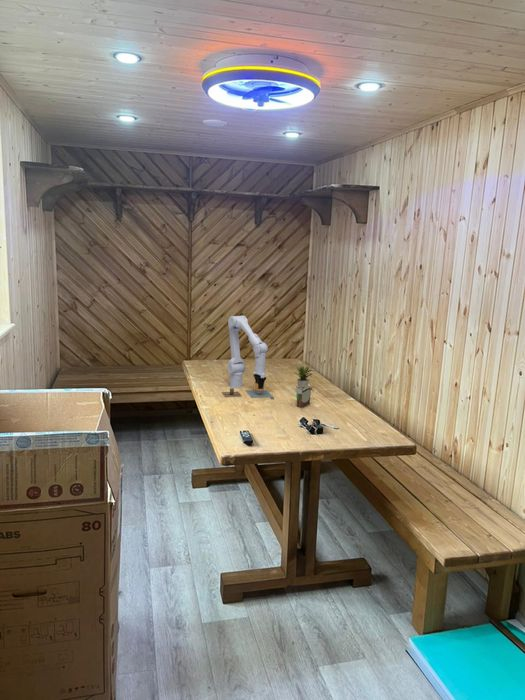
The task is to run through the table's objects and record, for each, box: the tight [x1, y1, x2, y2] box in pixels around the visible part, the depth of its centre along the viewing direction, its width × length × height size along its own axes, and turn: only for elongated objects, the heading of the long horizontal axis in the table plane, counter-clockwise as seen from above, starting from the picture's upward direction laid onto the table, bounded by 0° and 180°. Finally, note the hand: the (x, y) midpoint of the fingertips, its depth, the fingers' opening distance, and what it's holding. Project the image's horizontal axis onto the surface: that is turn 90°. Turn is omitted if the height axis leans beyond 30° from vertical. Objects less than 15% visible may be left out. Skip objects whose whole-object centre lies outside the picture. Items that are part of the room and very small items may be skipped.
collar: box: [253, 381, 265, 391], centre depth 313 cm, size 6×6×4 cm
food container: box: [294, 385, 312, 409], centre depth 295 cm, size 12×6×10 cm, turn 149°
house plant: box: [294, 363, 316, 387], centre depth 330 cm, size 14×14×16 cm
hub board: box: [244, 389, 275, 400], centre depth 313 cm, size 18×13×4 cm
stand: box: [221, 387, 243, 398], centre depth 310 cm, size 12×10×4 cm
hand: (259, 387), depth 313 cm, fingers closed on collar, 5 cm apart
